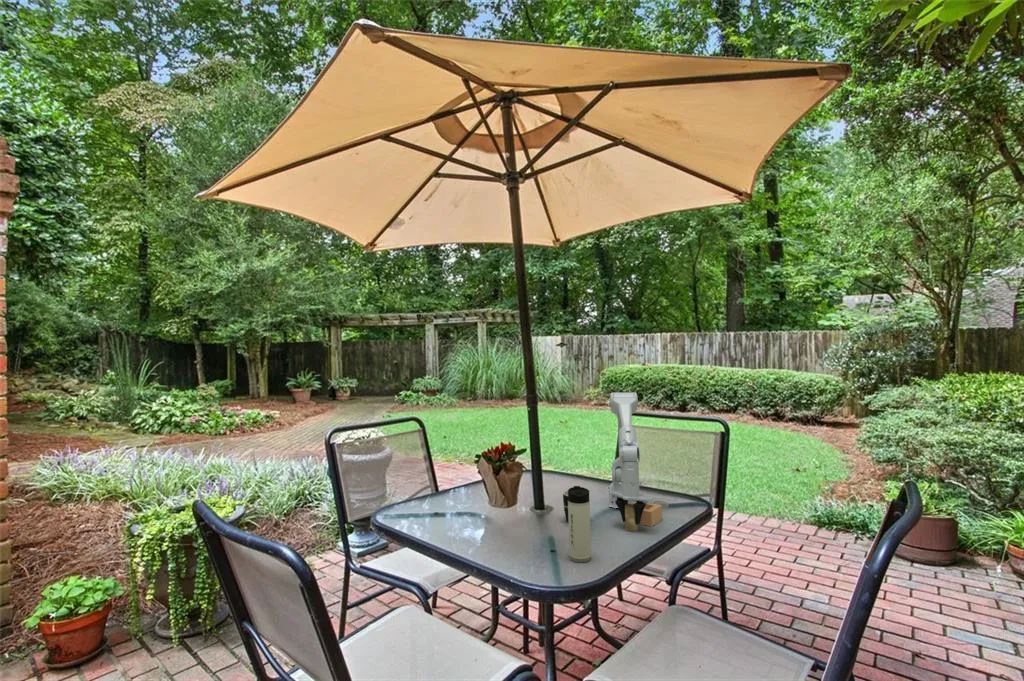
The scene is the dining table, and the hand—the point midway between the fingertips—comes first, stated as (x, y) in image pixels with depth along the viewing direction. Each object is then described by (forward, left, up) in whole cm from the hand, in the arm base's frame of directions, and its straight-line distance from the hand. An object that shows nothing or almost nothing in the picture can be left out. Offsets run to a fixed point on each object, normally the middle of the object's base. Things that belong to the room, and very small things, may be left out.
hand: (631, 522), depth 163 cm
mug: (-17, -5, -3) cm, 18 cm away
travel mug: (-2, -29, -3) cm, 29 cm away
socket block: (0, +10, -2) cm, 11 cm away
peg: (0, 0, -2) cm, 2 cm away
